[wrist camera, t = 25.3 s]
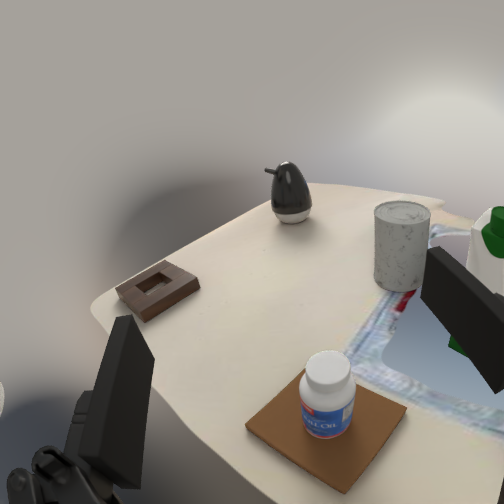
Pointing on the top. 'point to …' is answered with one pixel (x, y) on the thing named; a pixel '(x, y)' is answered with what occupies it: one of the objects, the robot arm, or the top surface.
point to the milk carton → (486, 255)
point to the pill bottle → (327, 394)
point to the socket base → (161, 299)
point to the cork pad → (333, 449)
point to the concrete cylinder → (400, 245)
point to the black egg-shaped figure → (289, 193)
